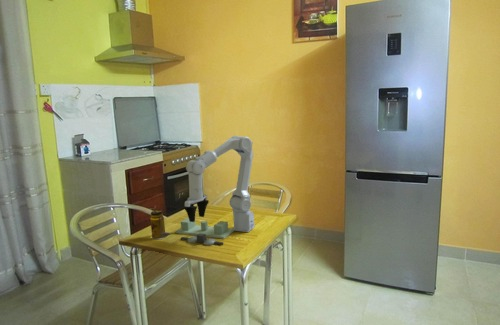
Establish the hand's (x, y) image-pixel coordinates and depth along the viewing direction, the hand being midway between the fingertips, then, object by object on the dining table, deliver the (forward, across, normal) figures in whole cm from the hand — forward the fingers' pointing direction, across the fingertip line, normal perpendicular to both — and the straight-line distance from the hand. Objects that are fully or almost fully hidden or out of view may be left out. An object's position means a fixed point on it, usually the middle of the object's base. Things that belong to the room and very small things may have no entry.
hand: (197, 219), depth 144 cm
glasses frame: (+10, 0, +2) cm, 10 cm away
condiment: (+11, -1, -21) cm, 24 cm away
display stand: (+10, -11, -3) cm, 15 cm away
